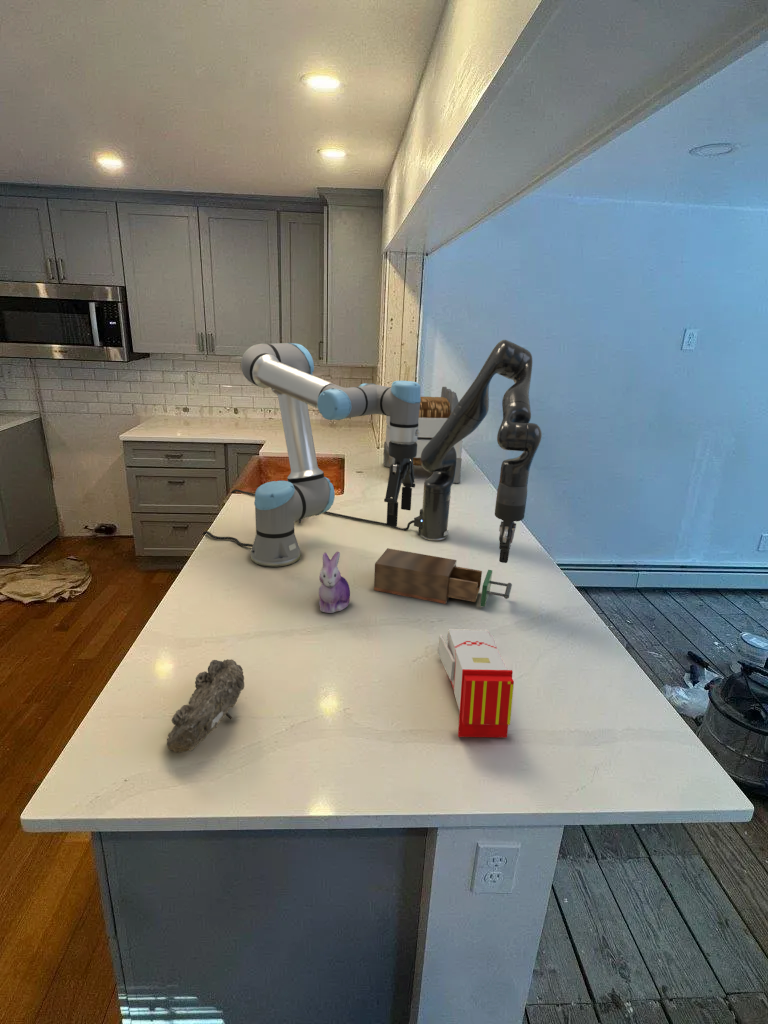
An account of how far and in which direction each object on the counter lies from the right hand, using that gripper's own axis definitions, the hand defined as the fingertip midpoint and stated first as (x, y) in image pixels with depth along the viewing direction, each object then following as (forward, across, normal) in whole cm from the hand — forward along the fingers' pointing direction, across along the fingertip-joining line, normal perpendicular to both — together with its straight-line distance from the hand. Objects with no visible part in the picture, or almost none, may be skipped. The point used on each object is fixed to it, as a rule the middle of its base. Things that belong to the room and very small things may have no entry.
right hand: (503, 561), depth 151 cm
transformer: (+13, +117, +53) cm, 129 cm away
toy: (+13, -41, +1) cm, 43 cm away
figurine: (+13, -18, +41) cm, 47 cm away
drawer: (+12, 0, +10) cm, 15 cm away
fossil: (+13, -66, +46) cm, 82 cm away
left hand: (-8, 0, +30) cm, 31 cm away
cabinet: (+13, 0, +24) cm, 27 cm away
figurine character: (+13, +36, +78) cm, 87 cm away
